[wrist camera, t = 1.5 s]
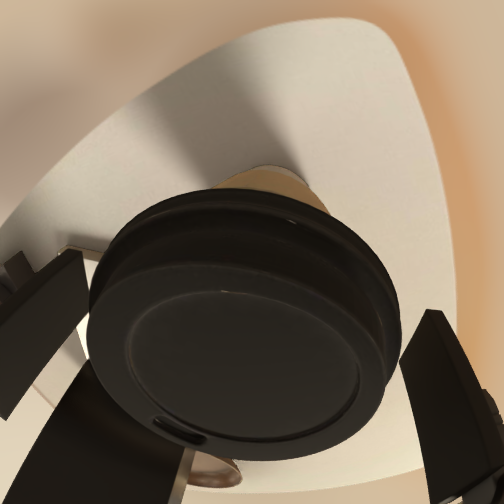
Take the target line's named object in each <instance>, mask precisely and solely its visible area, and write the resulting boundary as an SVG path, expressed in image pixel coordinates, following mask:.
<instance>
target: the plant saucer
mask: <svg viewBox="0 0 504 504" xmlns="http://www.w3.org/2000/svg"><path fill="white" fill-rule="evenodd" d="M241 482H242V475H241V473H240V471H239V469H238V467H237V466H236V465H235V463H234V462H233V461H232V459H229V458H223V457H218V456H214V455H210V454H206V453H202V452H199V451H196V453H195V457H194V460H193V464H192V467H191V471H190V474H189V478H188V481H187V484H189V485H193V486H198V487H206V488H229V487H234V486H236V485H238V484H240V483H241Z"/></svg>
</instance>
